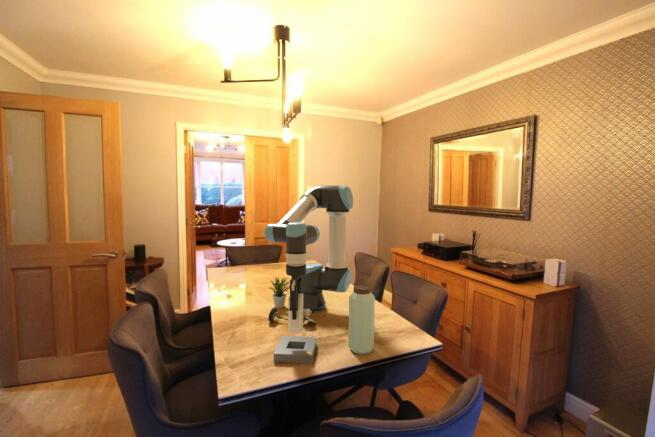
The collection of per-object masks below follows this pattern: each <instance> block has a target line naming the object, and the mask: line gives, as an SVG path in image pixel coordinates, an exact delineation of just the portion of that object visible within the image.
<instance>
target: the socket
mask: <svg viewBox="0 0 655 437" xmlns="http://www.w3.org/2000/svg"><path fill="white" fill-rule="evenodd" d="M275 348H276V349H275V350H274V352H273V362H275V363H276V362H277V363H297V364H298V363H299V364H313V360H314V356H315V351H316V348H317V337H316V336H312V337H311V336H293V335H292V336H291V335H282V336H281V337H280V340H279V342H278V343H277V346H276V347H275Z"/></svg>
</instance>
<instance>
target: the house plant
mask: <svg viewBox="0 0 655 437" xmlns="http://www.w3.org/2000/svg"><path fill="white" fill-rule="evenodd" d="M274 278H275V279H274V280H275V282H274V281H272V280H270V283H271V284H272V285H273V287H270V286H269V287H267V289H270V290H272V291H273V294H272V299H273V304H274V308H276V309H281V308H284V307H285V304H286V297H287V294H286V293H285V292H288V293H289V294H290V291H289V290H290V288H289V286H287V285H290V280H288V278H287V277H285V276H283V278H282V279H281V281H280V279H279V278H280V277H276V276H275V277H274ZM287 280H288V281H287Z"/></svg>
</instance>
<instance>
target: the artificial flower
mask: <svg viewBox="0 0 655 437" xmlns="http://www.w3.org/2000/svg"><path fill="white" fill-rule="evenodd" d="M277 312H278V308H276V307H273V308H271V310H270V311H269V313H268V318H267V319H268V322H269V323H270V322H271V323H272V322H273V321H274V320H275V317H276V318H278V319H279V320H280V319H283V320H286V321H288V318H285V317H283V316H278V315H277V314H278V313H277ZM312 314H313V313H312V311H311V310H309V309H303V324H304V322H306V321H310V322H312V323H314V324H317V322H316V321H315V320H314V319H311V318H310V315H312Z"/></svg>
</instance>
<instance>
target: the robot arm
mask: <svg viewBox="0 0 655 437" xmlns="http://www.w3.org/2000/svg"><path fill="white" fill-rule="evenodd" d="M353 206H354V197H353V192H352V190H351V188H350V187H349V186H347V185H342V184H341V185H318V186H314V187H311V188H310V189H309V190H307V191H305V192H304V193H303V194H302V195H301V197H300V198H299V201H297V202H296V204H294V206H293V207H292V208H290V209H289V211H287V213H286V214H284V215H283V217H281V218H280V220H278V221H277V223H268V224H267V225H266V226H265V228H264V237H265V240H266V241H268V242H271V243H283V244H284V243H285V254H284V258H285V263H286V265H285V274H286V275H287V276H289V277H291V278H290V280H289V283H290V284H289V286H288V288H290V289H289V295H290V309H289V311H291V327H294V328H298V321H299V310H298V294H303V309H309V310H311V311H312V313H311V314H313V313H319V312H323V311H324V310H326V307H327V305H326V304H327V303H326V301H325V297H324V295H323V294H324V293H323V291H328V292H333V293H334V292H335V293H346V292H347V291H348V290H349V287H350V284H351V282H352V270H350V269H349V268H348V266H349V265H348V264H347V263H346V234H347V233H346V232H347V229H346V227H347V223H346V222H347V219H346V218H347V215H348V214H349V213H350V210H351V209H353ZM316 209H325V211H326V214H327V215H328V253H327V254H328V257H327V258H328V260H327V261H328V262H327V263H325V265H323V263H319V262H318V263H308V264H306V263H307V246H308V245H312V244H314V243H315V242H317V241H318V240H319V238H320V229H319V228H318V227H317V226H316V225H314V224H306V223H305V222H303V221H304V220H305V219H306V218H307V217H308V215H309V214H310V213H311V212H314V211H315V210H316Z"/></svg>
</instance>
